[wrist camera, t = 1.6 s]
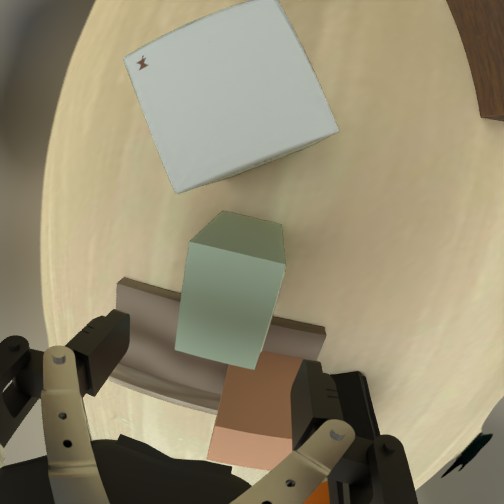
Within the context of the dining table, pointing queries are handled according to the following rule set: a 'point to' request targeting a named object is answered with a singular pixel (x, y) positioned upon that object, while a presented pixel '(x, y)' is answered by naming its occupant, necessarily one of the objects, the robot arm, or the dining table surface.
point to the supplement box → (229, 94)
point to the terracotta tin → (255, 413)
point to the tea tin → (230, 289)
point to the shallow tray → (183, 364)
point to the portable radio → (353, 417)
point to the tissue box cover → (483, 50)
